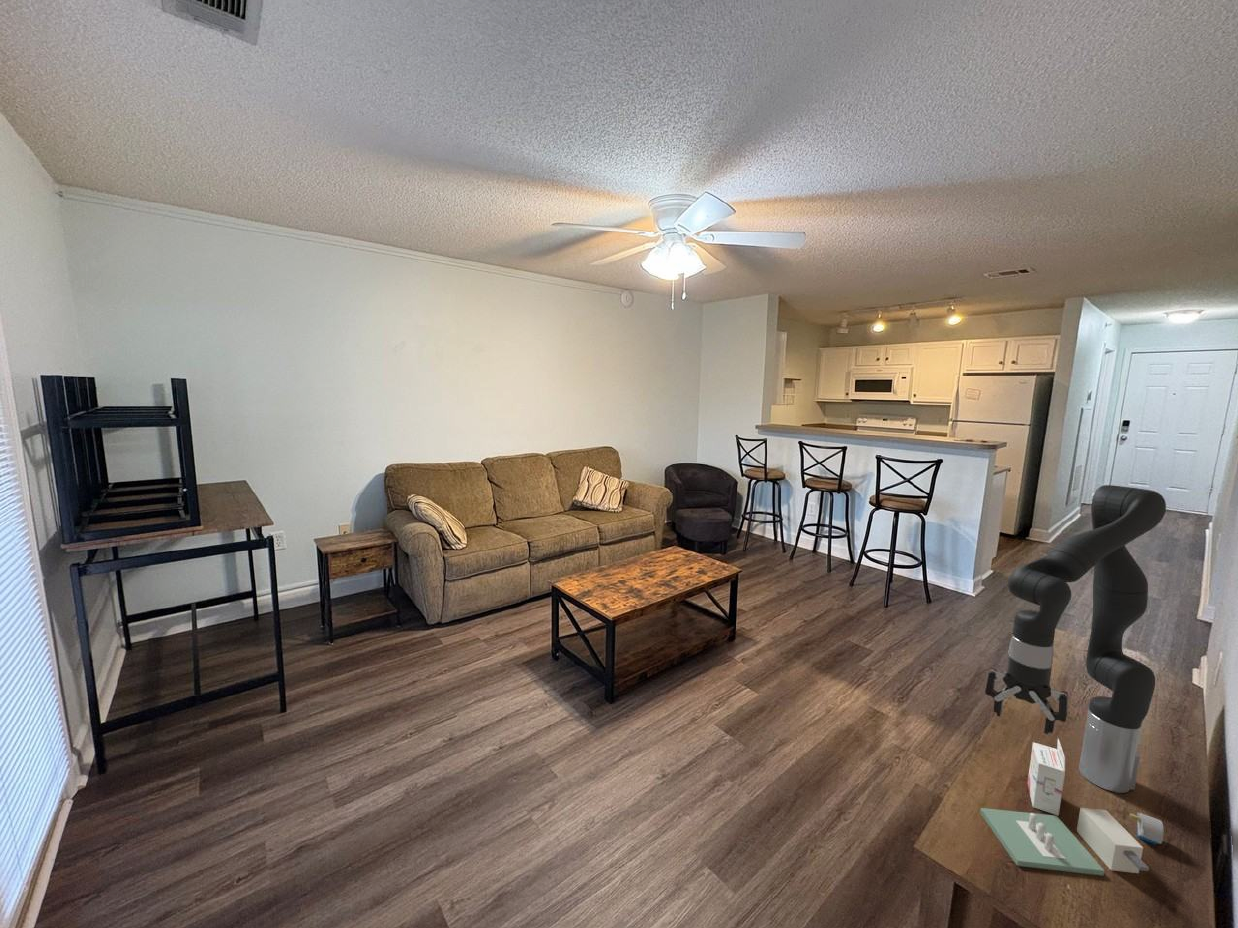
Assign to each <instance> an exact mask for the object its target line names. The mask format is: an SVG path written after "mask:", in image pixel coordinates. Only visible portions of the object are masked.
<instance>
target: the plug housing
mask: <svg viewBox="0 0 1238 928" xmlns="http://www.w3.org/2000/svg"><path fill="white" fill-rule="evenodd" d="M1079 809H1080V810H1079V814H1078V821H1077V826H1076V832H1077V834H1078V835H1079V836H1080V837H1081V838H1082V839H1083V840H1084V842H1085V843H1086V844H1087V845H1088V846H1089V847H1090V848H1091V850H1093V852H1094V853H1095V854H1096V855H1097V856H1098V857H1099V858H1100V859H1101V861H1102V862H1103V863H1104V864H1105V865H1106V867H1108V869H1109V870H1111V871H1117V872H1123V873H1125V872H1126V873H1132V874H1139V873H1140V871H1144V872H1149V870H1150V867H1149V866H1148V865H1147V864H1146V863H1145V862H1144V861H1143V860H1142V857H1143V853H1144V852H1143V850H1144V846H1142V845H1141V843H1139V842H1138V841H1137V840H1136V838H1134V836H1132V834H1131V833H1130V832H1128V831H1127V830H1126V829H1125V828H1124V827H1123V826H1122V825H1121V823H1120V822H1119V821H1117V819H1115V818H1114V817H1113V816H1112V815H1111V814H1110V813H1109V812H1108V811H1107V810H1106V809H1098V808H1086V807H1080V808H1079Z"/></svg>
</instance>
